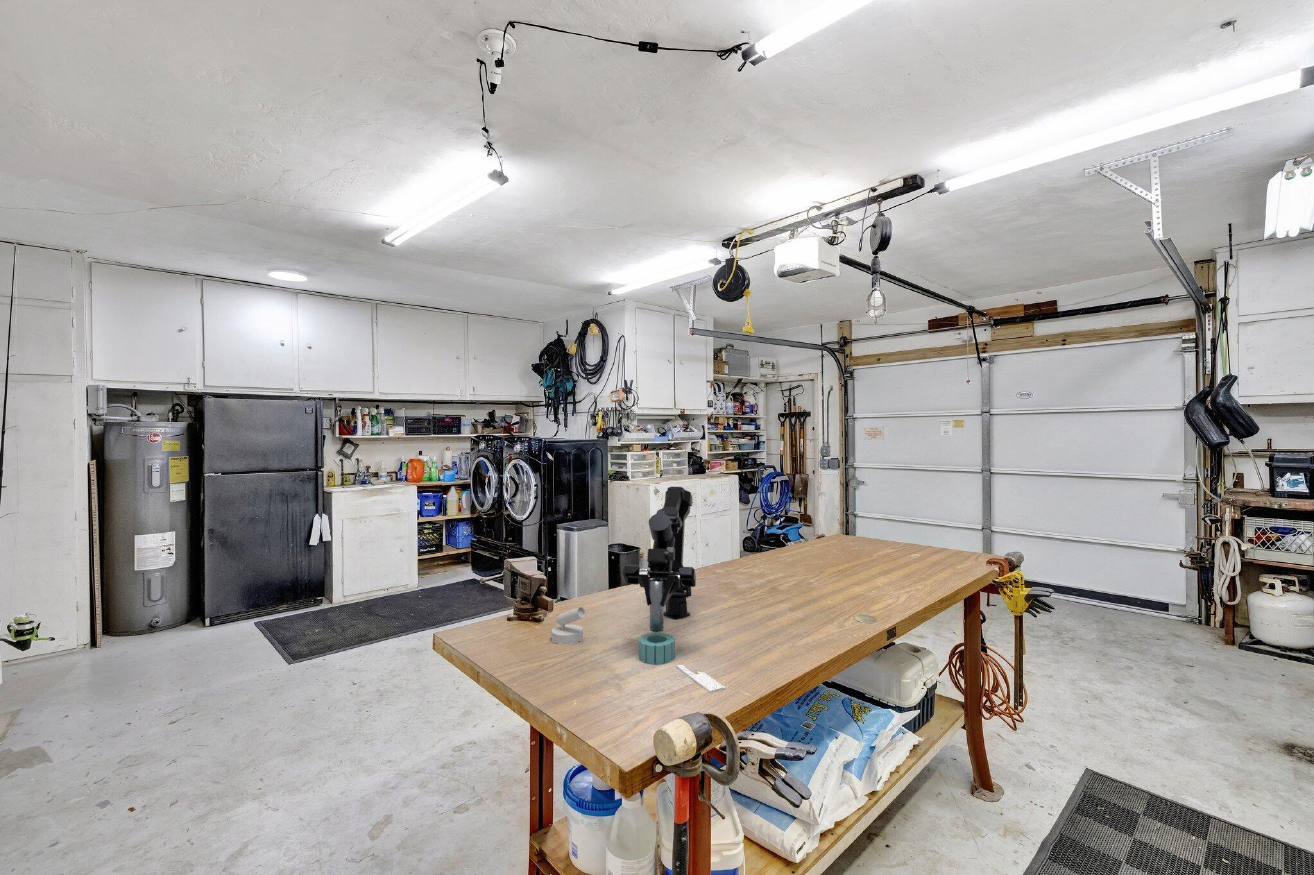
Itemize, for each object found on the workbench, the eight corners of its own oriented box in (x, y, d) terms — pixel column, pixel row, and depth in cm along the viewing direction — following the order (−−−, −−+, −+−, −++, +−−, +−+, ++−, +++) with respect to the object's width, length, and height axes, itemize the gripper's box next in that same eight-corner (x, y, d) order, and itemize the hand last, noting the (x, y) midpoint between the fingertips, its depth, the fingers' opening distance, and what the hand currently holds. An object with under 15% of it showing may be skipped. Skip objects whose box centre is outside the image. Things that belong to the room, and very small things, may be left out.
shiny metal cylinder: (648, 628, 142) (647, 579, 141) (661, 626, 143) (660, 578, 143) (652, 632, 138) (652, 583, 138) (665, 631, 139) (665, 581, 139)
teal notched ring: (632, 655, 141) (631, 638, 141) (659, 647, 147) (659, 630, 147) (654, 667, 134) (654, 648, 134) (681, 657, 140) (681, 639, 140)
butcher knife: (694, 665, 136) (694, 660, 136) (729, 690, 123) (729, 685, 123) (676, 668, 134) (676, 664, 134) (709, 695, 121) (709, 690, 121)
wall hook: (573, 612, 147) (544, 606, 152) (573, 647, 147) (545, 640, 152) (592, 603, 154) (565, 598, 159) (593, 637, 154) (565, 631, 159)
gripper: (624, 534, 146) (613, 587, 135) (694, 536, 142) (689, 591, 132) (631, 557, 154) (621, 609, 143) (698, 559, 150) (693, 613, 139)
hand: (655, 605), depth 139 cm, fingers closed on shiny metal cylinder, 3 cm apart
